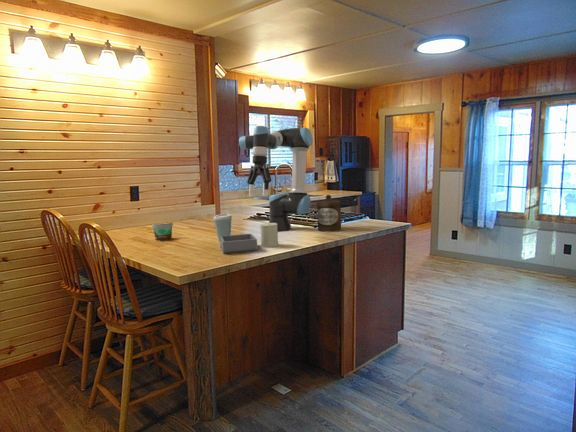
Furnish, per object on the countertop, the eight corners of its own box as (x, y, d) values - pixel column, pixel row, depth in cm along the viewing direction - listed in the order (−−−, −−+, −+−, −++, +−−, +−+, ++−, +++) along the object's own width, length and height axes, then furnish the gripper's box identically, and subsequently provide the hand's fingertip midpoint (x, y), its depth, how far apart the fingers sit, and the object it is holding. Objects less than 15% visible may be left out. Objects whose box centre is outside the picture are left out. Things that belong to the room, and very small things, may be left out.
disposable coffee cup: (229, 242, 231) (228, 216, 229) (211, 242, 233) (210, 216, 231) (235, 238, 241) (234, 213, 239) (218, 238, 244) (216, 213, 242)
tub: (252, 244, 224) (251, 233, 223) (257, 250, 207) (256, 239, 207) (220, 247, 220) (219, 236, 219) (223, 254, 203) (222, 242, 203)
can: (262, 247, 214) (261, 225, 213) (260, 244, 223) (259, 222, 221) (279, 246, 216) (278, 224, 214) (276, 243, 225) (275, 221, 223)
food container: (153, 241, 242) (152, 225, 240) (152, 240, 247) (151, 223, 246) (175, 239, 246) (174, 223, 245) (174, 237, 252) (172, 221, 250)
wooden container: (315, 231, 255) (314, 196, 252) (320, 227, 269) (319, 193, 266) (339, 231, 251) (338, 196, 248) (343, 227, 265) (342, 193, 262)
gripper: (241, 157, 224) (240, 196, 224) (266, 152, 204) (265, 195, 203) (253, 159, 228) (252, 197, 228) (279, 154, 208) (277, 196, 208)
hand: (258, 196), depth 216 cm, fingers open, 13 cm apart
